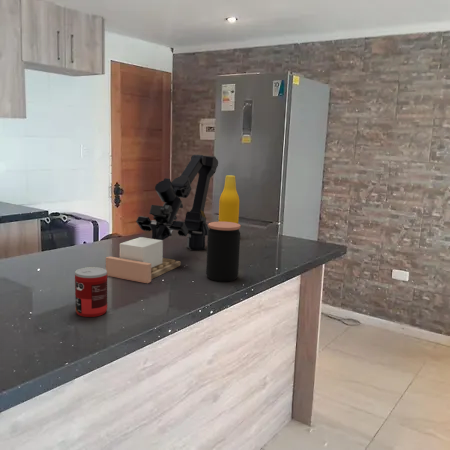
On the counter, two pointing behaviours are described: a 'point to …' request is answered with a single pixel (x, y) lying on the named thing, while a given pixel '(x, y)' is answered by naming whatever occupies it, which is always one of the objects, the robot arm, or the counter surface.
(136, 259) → the white box on pallet
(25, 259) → the counter surface
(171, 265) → the roller bed
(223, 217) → the beer bottle
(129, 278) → the brick stop
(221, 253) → the coffee jar
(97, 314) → the canned food
